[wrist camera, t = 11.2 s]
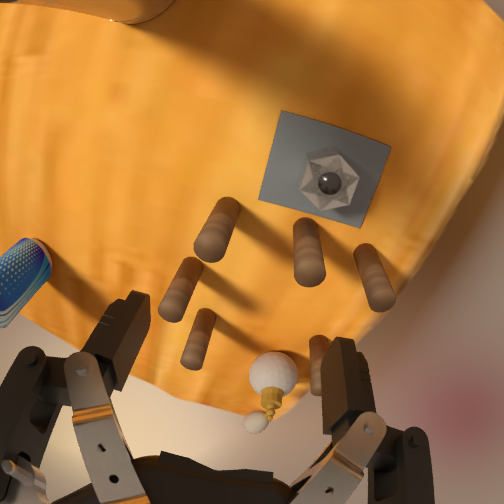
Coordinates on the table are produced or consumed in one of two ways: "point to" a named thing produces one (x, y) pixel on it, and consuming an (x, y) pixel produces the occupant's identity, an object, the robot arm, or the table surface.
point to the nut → (327, 179)
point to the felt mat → (314, 138)
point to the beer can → (22, 276)
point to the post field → (305, 272)
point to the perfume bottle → (270, 387)
